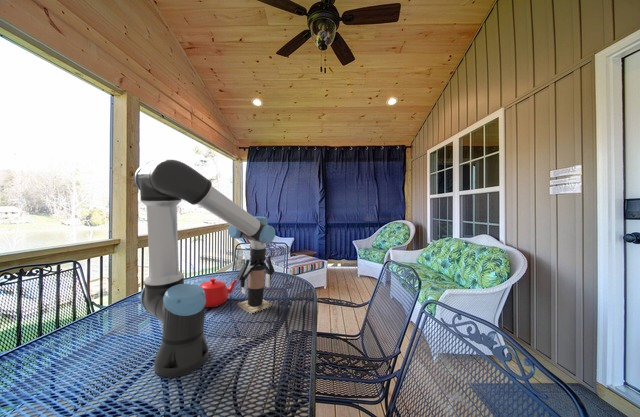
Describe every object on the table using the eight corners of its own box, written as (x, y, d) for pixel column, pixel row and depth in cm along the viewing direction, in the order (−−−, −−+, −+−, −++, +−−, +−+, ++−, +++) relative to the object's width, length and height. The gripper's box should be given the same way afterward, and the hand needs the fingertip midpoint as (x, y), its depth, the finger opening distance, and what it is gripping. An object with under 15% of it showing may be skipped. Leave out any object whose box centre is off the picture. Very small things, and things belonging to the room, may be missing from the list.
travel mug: (254, 308, 112) (256, 266, 112) (243, 303, 116) (246, 263, 116) (266, 302, 119) (268, 263, 118) (255, 298, 123) (257, 260, 122)
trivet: (251, 314, 109) (251, 311, 109) (237, 305, 117) (238, 302, 117) (272, 306, 118) (272, 303, 118) (258, 299, 126) (258, 296, 126)
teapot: (190, 315, 105) (191, 288, 104) (181, 303, 116) (182, 278, 116) (243, 302, 121) (245, 278, 121) (231, 292, 133) (232, 270, 133)
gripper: (239, 252, 105) (236, 299, 105) (282, 246, 124) (280, 286, 124) (230, 249, 110) (228, 293, 110) (273, 244, 128) (271, 282, 129)
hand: (256, 289), depth 117 cm, fingers open, 13 cm apart
